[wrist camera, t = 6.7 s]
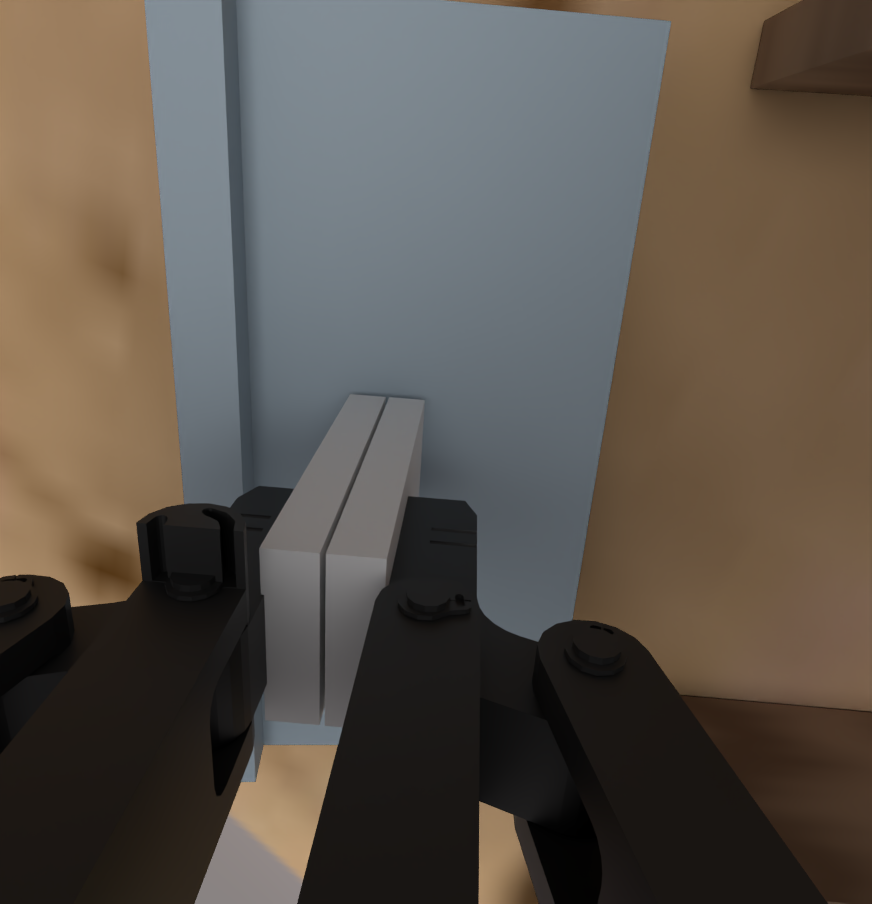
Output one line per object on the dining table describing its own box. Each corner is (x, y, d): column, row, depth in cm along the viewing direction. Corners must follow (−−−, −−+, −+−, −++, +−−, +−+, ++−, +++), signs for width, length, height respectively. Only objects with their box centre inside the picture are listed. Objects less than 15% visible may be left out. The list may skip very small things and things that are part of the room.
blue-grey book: (698, 6, 12) (141, -46, 11) (561, 780, 18) (205, 781, 17) (651, 31, 14) (180, -11, 13) (544, 718, 20) (225, 717, 19)
